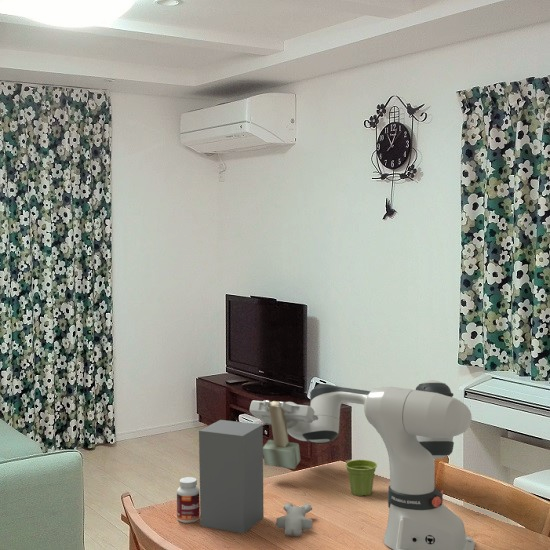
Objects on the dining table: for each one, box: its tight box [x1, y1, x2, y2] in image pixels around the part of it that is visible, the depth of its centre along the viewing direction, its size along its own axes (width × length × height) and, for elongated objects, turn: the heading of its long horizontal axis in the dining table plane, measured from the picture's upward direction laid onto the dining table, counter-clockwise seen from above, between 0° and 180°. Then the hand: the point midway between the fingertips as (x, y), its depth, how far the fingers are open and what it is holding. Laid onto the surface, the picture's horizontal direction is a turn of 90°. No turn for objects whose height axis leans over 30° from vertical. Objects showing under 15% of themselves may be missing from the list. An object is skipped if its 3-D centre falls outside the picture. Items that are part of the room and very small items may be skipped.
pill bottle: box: [176, 476, 200, 524], centre depth 218 cm, size 6×6×11 cm
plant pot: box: [345, 459, 378, 497], centre depth 237 cm, size 9×9×9 cm
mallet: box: [263, 400, 301, 470], centre depth 243 cm, size 10×20×5 cm
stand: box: [198, 419, 265, 535], centre depth 215 cm, size 13×12×26 cm
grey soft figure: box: [275, 502, 313, 537], centre depth 212 cm, size 10×5×15 cm
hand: (273, 403), depth 239 cm, fingers closed on mallet, 3 cm apart
